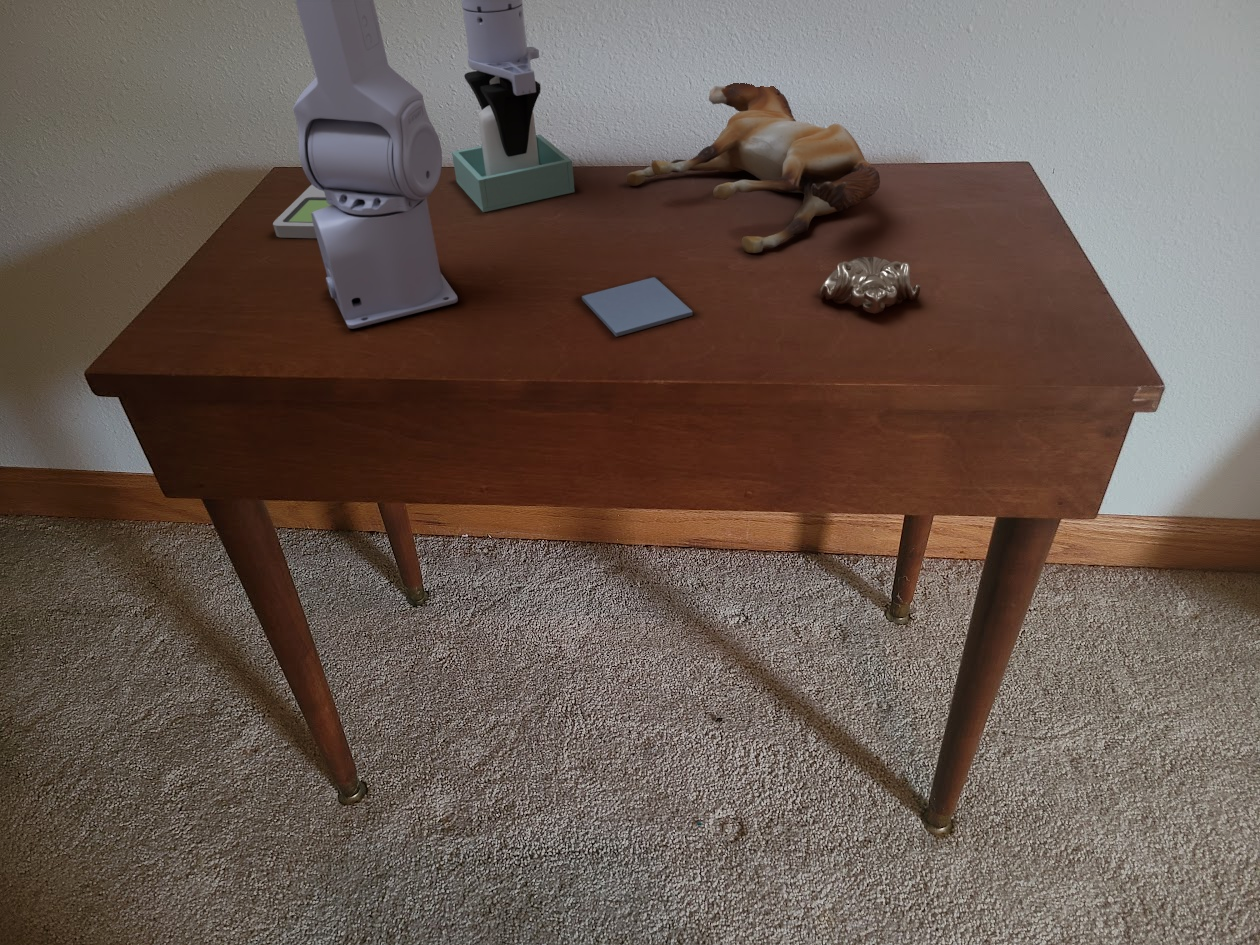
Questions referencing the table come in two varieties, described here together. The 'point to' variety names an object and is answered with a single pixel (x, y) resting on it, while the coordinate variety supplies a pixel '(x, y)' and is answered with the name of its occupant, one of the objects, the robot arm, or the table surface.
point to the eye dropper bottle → (494, 150)
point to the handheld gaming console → (300, 215)
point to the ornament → (869, 283)
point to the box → (514, 178)
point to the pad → (636, 306)
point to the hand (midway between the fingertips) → (510, 148)
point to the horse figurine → (779, 159)
